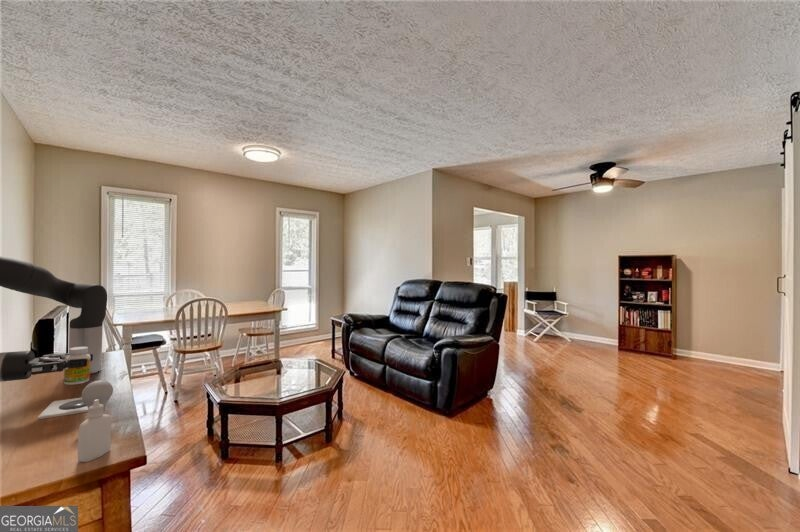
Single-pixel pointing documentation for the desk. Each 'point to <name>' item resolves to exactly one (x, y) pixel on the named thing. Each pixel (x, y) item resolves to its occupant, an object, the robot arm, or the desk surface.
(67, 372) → the supplement bottle
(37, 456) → the desk surface
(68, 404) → the plate
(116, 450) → the desk surface
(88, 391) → the lightbulb
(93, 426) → the eye dropper bottle
